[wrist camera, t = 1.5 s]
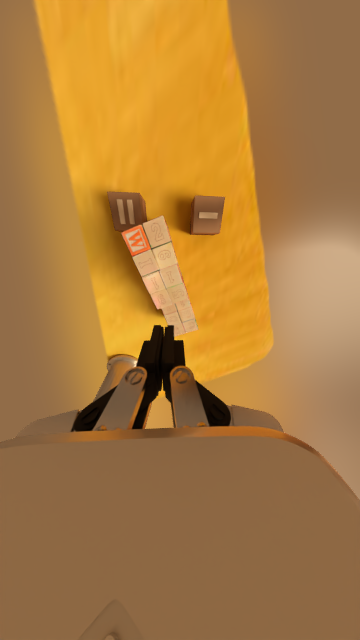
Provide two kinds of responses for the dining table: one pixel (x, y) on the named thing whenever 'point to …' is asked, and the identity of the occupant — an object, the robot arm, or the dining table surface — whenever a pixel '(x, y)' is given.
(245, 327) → the dining table surface
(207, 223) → the walnut cube one
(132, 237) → the stack of blocks
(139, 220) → the walnut cube two
